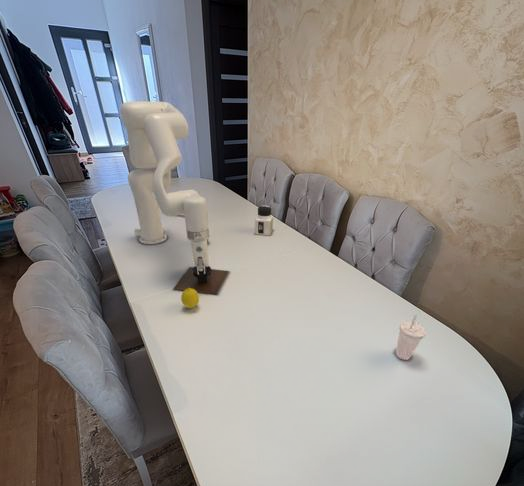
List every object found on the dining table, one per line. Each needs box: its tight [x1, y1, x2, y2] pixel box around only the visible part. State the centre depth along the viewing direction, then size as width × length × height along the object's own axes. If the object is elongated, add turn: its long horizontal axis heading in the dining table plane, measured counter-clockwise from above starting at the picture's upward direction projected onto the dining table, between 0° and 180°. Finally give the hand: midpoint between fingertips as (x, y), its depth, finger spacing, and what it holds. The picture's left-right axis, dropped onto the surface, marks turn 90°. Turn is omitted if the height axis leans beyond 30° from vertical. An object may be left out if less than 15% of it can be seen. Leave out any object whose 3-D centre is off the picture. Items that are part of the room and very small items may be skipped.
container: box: [254, 205, 274, 236], centre depth 152 cm, size 8×8×13 cm
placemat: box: [173, 266, 230, 296], centre depth 115 cm, size 16×16×1 cm
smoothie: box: [395, 314, 427, 361], centre depth 81 cm, size 6×6×14 cm
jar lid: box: [192, 265, 212, 277], centre depth 113 cm, size 7×7×2 cm
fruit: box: [180, 288, 200, 309], centre depth 99 cm, size 6×6×8 cm
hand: (202, 277), depth 114 cm, fingers closed on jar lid, 6 cm apart
